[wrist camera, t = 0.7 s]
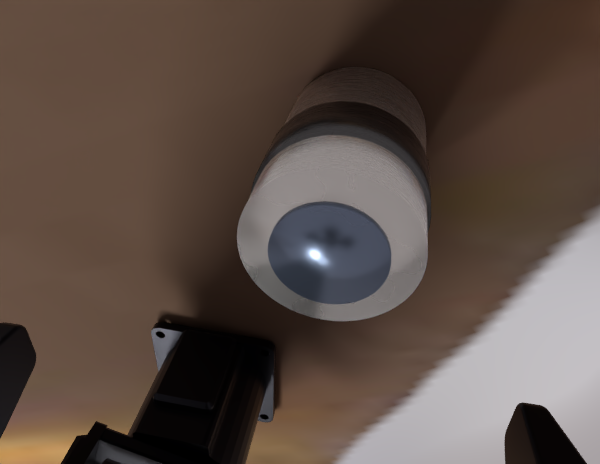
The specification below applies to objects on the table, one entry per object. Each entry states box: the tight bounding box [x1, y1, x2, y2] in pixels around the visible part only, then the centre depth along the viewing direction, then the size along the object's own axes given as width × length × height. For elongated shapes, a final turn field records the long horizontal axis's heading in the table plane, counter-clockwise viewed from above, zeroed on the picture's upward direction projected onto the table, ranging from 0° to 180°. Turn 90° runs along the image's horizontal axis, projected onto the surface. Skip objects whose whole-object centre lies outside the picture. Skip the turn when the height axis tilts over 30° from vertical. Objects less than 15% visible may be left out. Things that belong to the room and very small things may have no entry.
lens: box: [237, 67, 431, 321], centre depth 17 cm, size 5×5×7 cm
